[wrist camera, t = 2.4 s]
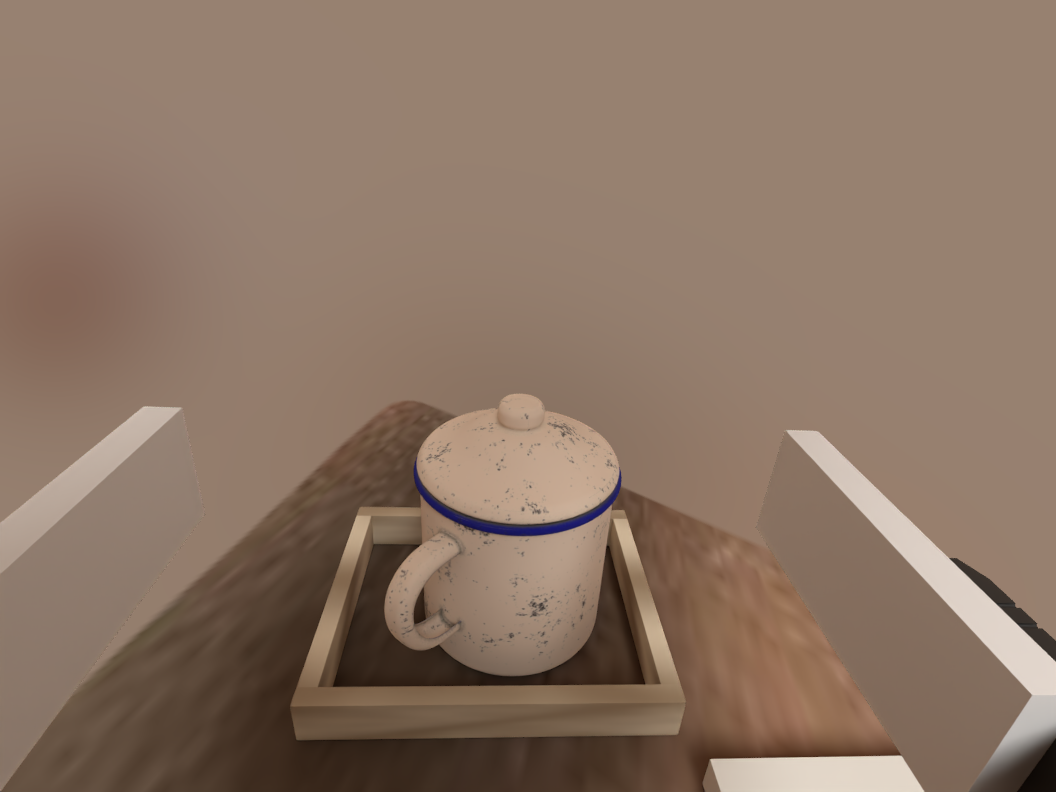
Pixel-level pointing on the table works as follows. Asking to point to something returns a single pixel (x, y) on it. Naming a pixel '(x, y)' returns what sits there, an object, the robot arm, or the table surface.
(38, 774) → the table surface
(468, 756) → the table surface
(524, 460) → the teacup with lid
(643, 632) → the cup holder
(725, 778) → the ceramic board
